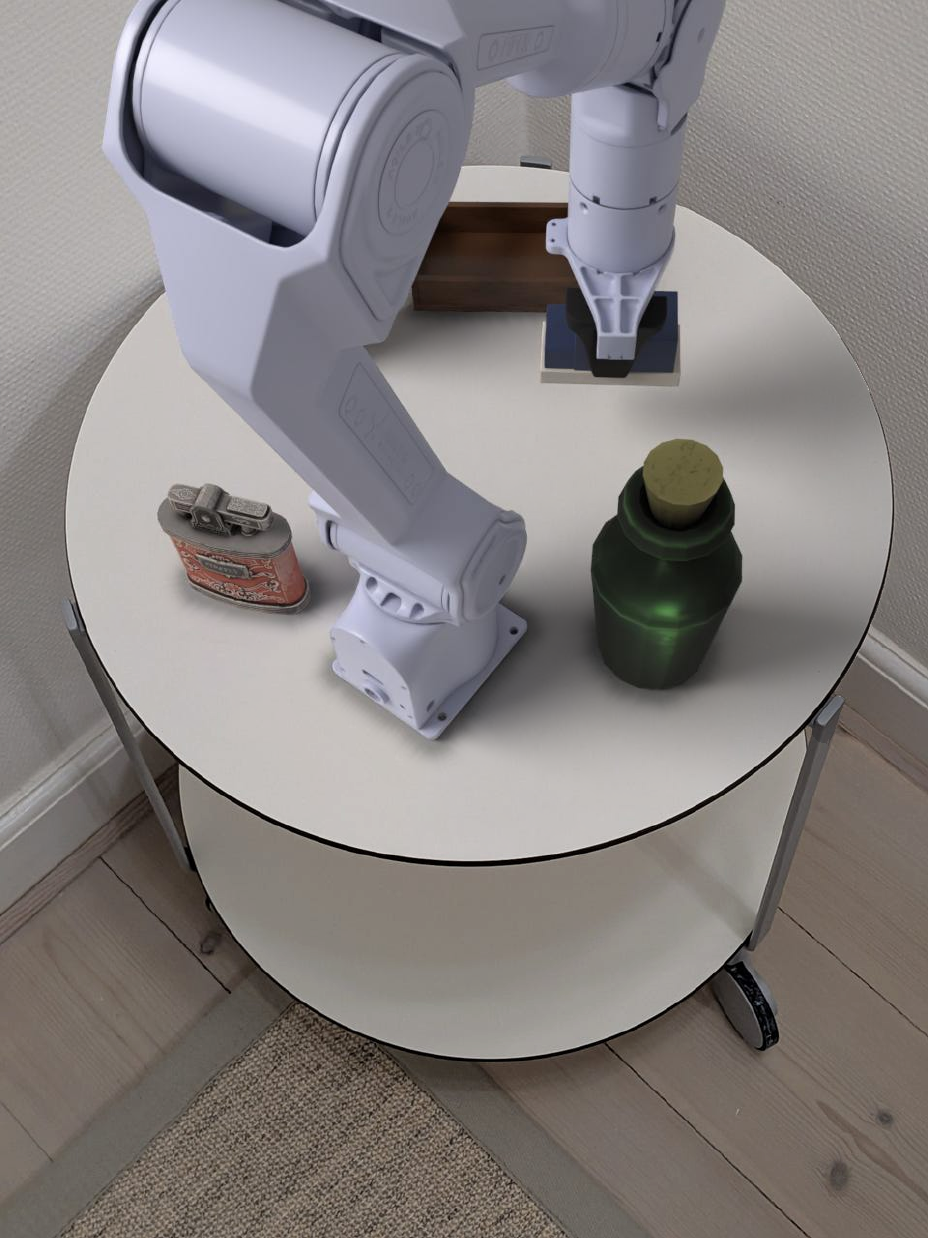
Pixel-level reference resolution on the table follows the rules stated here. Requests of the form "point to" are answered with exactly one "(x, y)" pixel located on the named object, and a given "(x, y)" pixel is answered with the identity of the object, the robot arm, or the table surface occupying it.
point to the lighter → (234, 549)
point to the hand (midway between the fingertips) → (610, 344)
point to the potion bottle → (666, 567)
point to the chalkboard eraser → (571, 365)
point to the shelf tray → (493, 259)
